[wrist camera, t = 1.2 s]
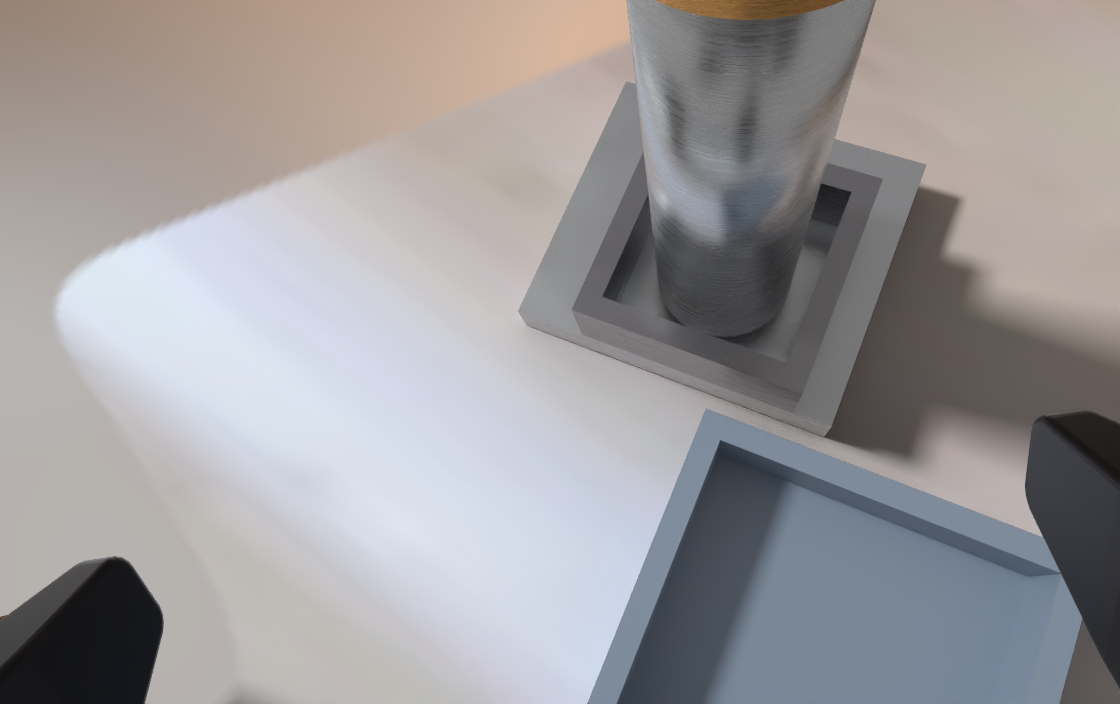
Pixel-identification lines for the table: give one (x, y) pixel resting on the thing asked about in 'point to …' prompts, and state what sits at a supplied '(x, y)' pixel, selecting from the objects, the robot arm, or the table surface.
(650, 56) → the stop pin
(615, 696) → the tray
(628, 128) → the square socket base
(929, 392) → the table surface
